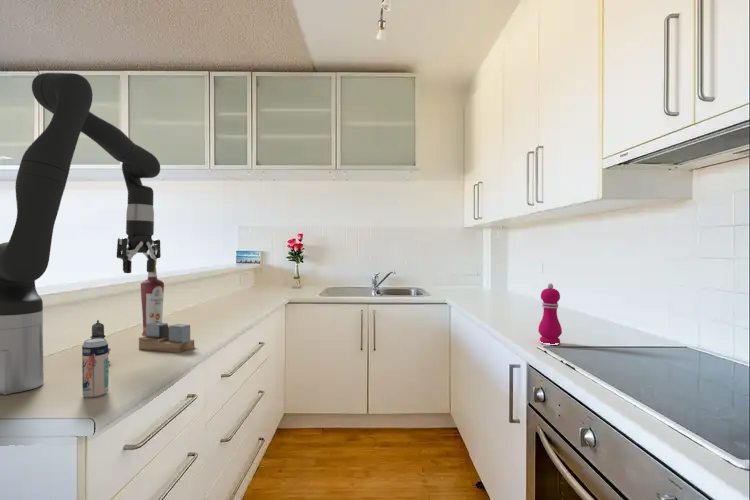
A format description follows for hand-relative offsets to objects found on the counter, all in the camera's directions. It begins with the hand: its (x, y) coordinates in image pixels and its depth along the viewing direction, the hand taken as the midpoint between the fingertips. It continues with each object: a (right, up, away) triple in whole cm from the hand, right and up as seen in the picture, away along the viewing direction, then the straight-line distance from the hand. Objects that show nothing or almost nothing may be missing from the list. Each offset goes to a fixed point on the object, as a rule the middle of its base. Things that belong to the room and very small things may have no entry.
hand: (139, 272), depth 137 cm
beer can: (+12, -25, -40) cm, 48 cm away
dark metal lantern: (-3, -24, -15) cm, 29 cm away
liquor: (-5, -24, +18) cm, 30 cm away
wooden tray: (+7, -24, +3) cm, 25 cm away
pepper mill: (+130, -24, +10) cm, 133 cm away
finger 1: (+4, -21, +4) cm, 22 cm away
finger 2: (+12, -21, +1) cm, 24 cm away
